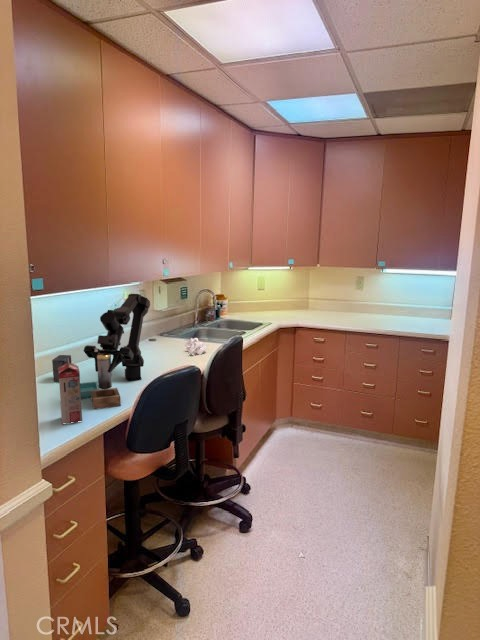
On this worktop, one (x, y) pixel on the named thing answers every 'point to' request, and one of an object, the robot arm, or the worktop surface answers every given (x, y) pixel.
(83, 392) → the teal tray
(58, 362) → the box
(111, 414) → the worktop surface
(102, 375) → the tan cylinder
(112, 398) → the brown square frame
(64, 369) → the juice carton
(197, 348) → the white coral
